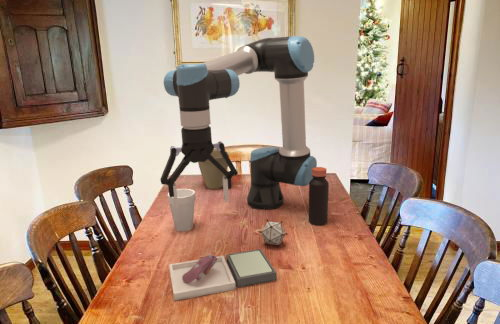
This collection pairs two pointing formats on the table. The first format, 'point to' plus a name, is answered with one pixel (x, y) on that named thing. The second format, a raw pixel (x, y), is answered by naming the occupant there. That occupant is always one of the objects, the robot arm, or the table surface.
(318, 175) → the bottle
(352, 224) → the table surface
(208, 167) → the plant pot
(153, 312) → the table surface
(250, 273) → the pale green flat panel
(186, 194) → the foam cup
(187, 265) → the tray
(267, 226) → the game die
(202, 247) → the table surface
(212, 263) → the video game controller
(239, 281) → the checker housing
